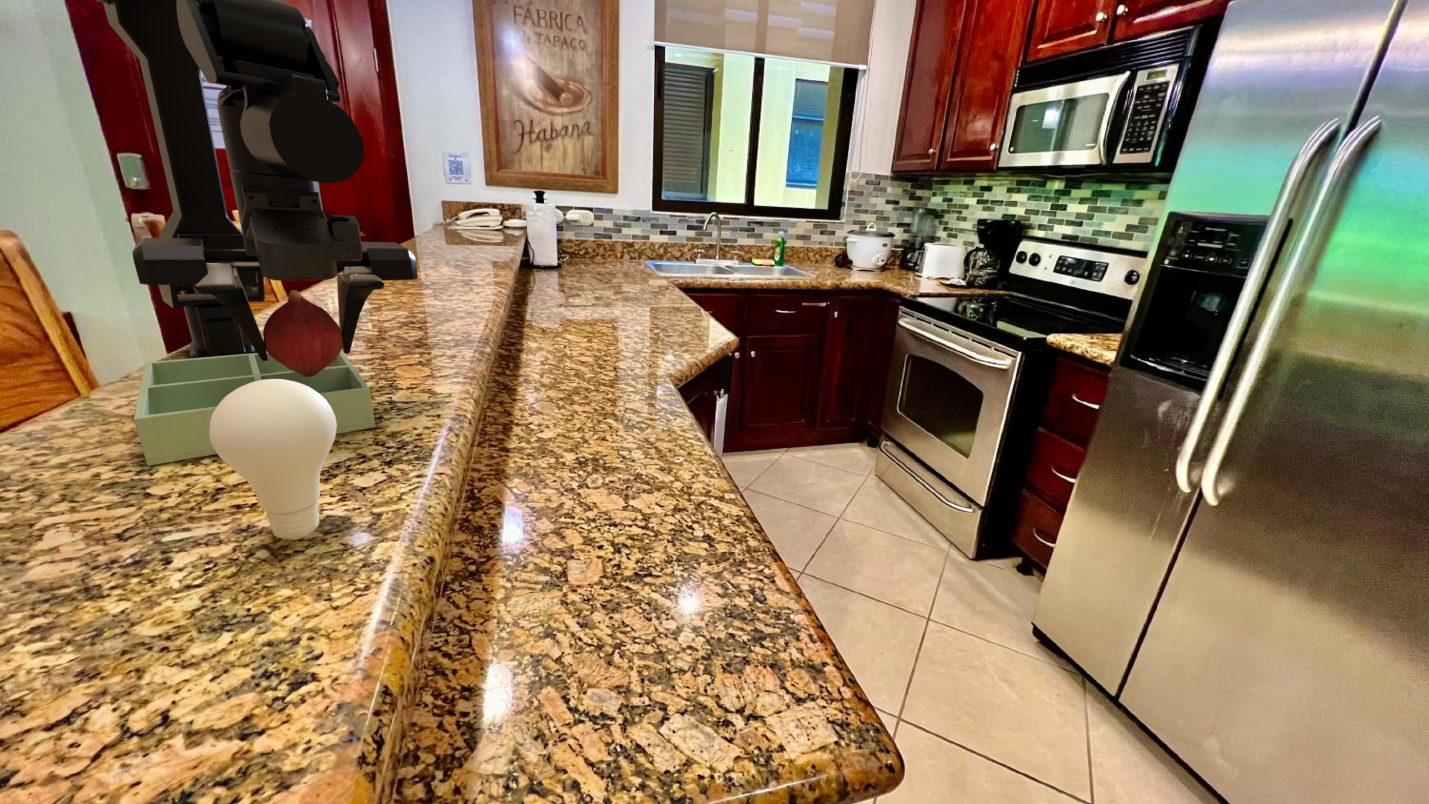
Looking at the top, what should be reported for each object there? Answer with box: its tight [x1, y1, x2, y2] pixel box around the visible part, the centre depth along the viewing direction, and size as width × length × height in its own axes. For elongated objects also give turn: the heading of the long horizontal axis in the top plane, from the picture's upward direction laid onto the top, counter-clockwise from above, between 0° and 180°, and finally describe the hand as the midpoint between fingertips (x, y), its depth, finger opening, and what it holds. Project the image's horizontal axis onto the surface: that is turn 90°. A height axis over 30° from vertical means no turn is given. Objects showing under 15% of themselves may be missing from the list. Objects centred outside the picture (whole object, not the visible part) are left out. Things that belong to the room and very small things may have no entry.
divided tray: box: [133, 349, 376, 467], centre depth 52 cm, size 16×16×4 cm
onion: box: [262, 289, 343, 377], centre depth 50 cm, size 6×6×8 cm
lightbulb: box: [210, 379, 337, 541], centre depth 35 cm, size 6×6×11 cm
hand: (306, 356), depth 51 cm, fingers closed on onion, 6 cm apart
